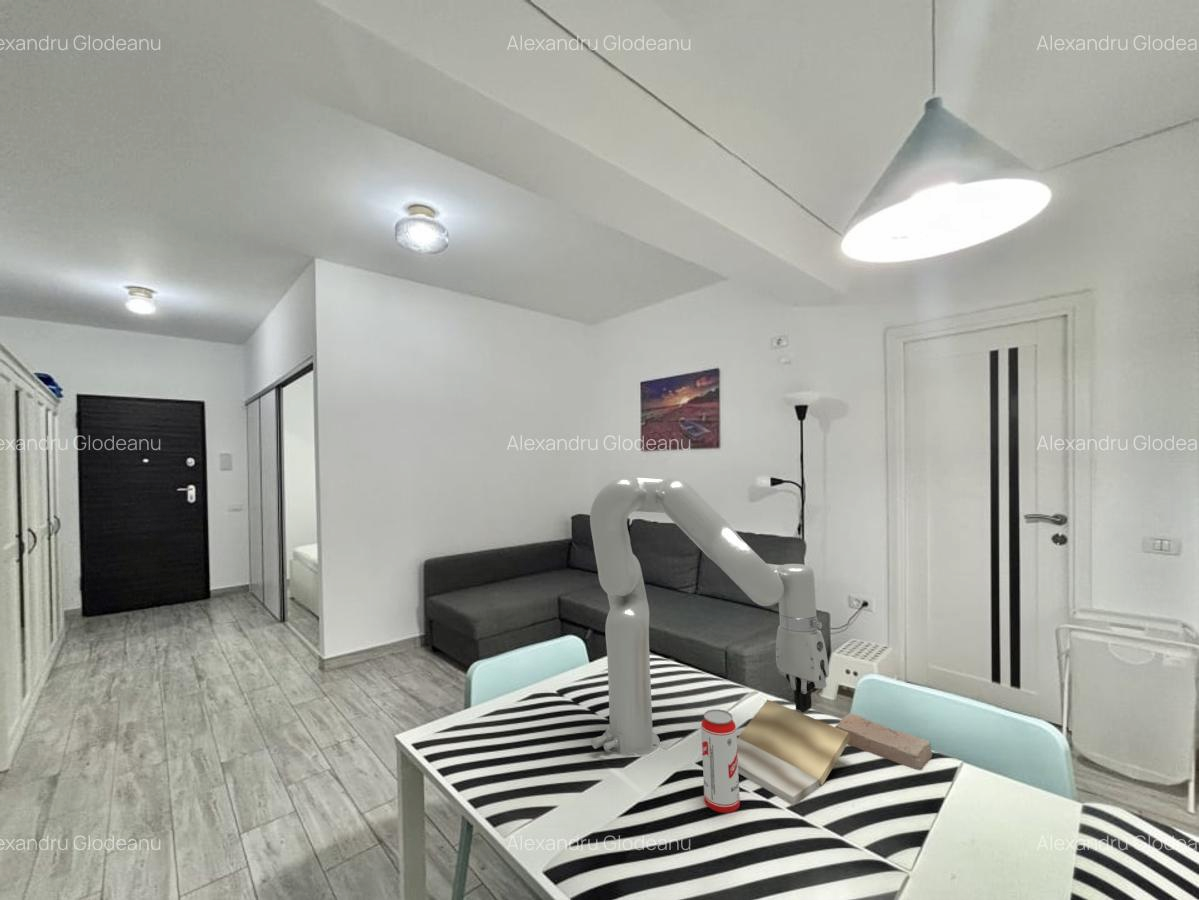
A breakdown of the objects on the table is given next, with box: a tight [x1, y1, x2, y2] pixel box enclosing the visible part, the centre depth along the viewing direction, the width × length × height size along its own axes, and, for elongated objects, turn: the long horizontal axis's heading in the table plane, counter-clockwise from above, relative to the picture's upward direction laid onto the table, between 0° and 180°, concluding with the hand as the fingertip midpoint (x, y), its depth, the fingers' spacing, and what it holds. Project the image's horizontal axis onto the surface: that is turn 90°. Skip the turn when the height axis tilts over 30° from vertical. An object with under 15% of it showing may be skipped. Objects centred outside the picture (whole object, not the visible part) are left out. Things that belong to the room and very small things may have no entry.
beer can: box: [700, 708, 741, 814], centre depth 89 cm, size 6×6×16 cm
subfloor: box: [737, 736, 820, 806], centre depth 101 cm, size 24×20×2 cm
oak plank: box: [738, 699, 851, 786], centre depth 103 cm, size 12×19×2 cm, turn 37°
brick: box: [835, 713, 933, 771], centre depth 104 cm, size 17×8×5 cm, turn 41°
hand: (803, 709), depth 106 cm, fingers closed
